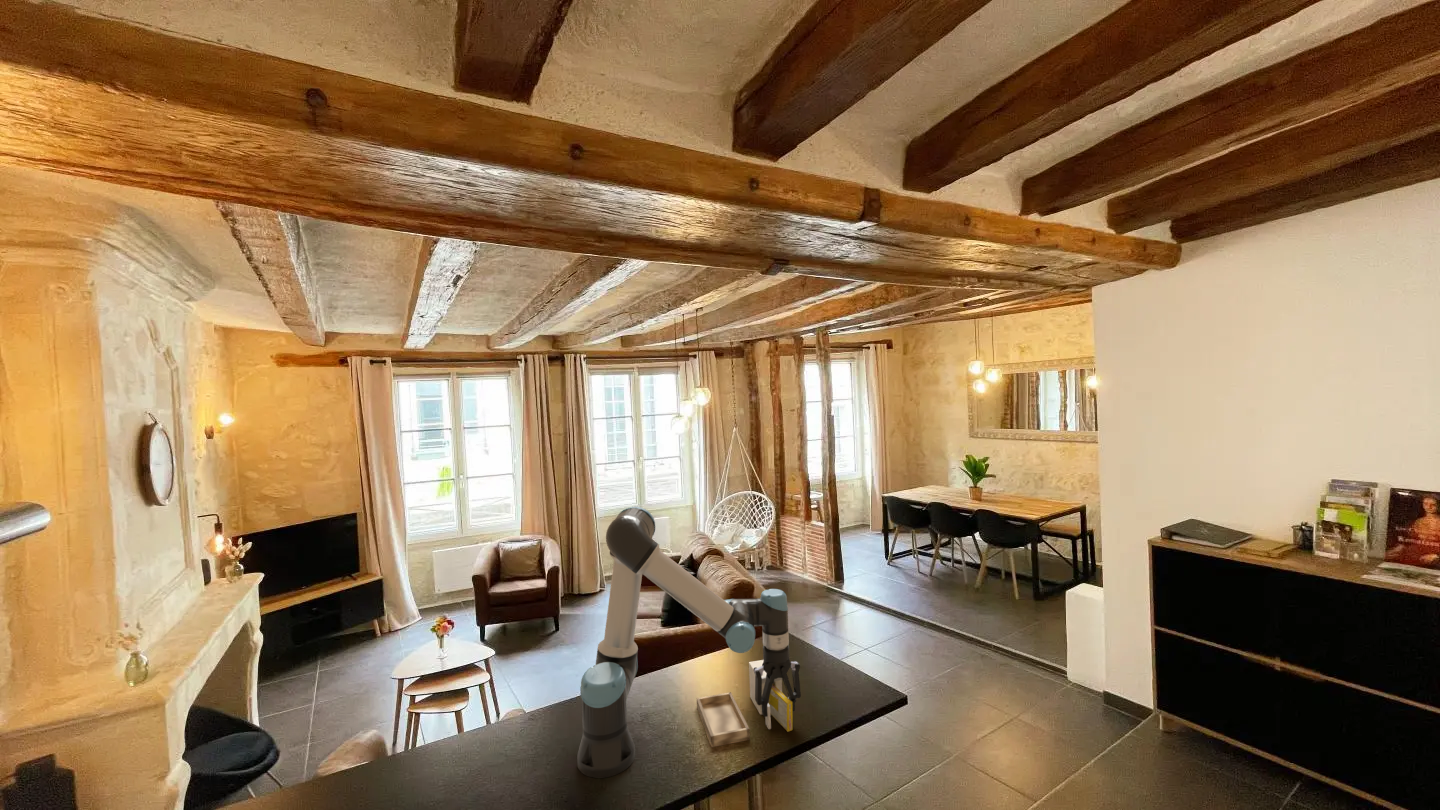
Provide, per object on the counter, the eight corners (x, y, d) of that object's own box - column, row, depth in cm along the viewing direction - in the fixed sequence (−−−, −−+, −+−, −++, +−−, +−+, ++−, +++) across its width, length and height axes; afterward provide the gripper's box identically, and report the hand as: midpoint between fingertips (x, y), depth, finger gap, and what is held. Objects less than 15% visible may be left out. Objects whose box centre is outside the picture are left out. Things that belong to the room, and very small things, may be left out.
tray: (711, 747, 153) (711, 736, 153) (696, 707, 172) (696, 698, 172) (749, 739, 155) (749, 729, 155) (731, 701, 175) (730, 692, 175)
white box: (761, 716, 166) (759, 679, 166) (750, 697, 177) (748, 662, 177) (783, 712, 168) (782, 675, 168) (771, 693, 179) (770, 658, 178)
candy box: (793, 730, 159) (792, 701, 159) (787, 732, 158) (786, 703, 158) (766, 702, 174) (765, 676, 174) (760, 704, 173) (759, 677, 173)
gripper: (748, 655, 155) (751, 737, 156) (811, 645, 160) (814, 725, 160) (741, 644, 162) (744, 722, 163) (801, 634, 167) (804, 711, 167)
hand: (778, 724), depth 161 cm, fingers open, 6 cm apart
